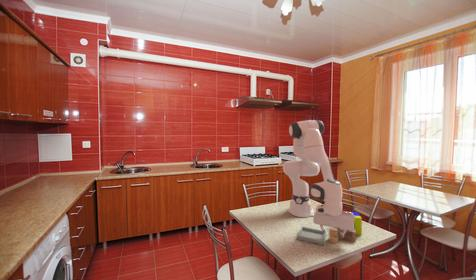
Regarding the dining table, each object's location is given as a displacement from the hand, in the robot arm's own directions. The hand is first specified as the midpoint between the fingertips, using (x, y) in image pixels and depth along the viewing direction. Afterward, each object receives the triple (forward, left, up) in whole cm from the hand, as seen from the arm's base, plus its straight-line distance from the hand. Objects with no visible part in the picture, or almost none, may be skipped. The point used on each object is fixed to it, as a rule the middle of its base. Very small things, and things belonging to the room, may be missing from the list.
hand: (332, 234), depth 114 cm
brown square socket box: (-9, +7, -3) cm, 12 cm away
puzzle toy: (-19, +8, -4) cm, 21 cm away
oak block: (-1, 0, -3) cm, 3 cm away
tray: (+1, -11, -3) cm, 11 cm away
